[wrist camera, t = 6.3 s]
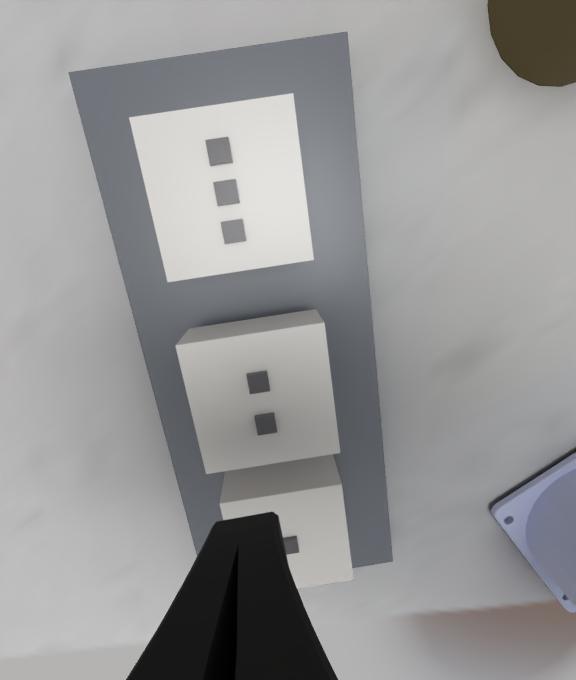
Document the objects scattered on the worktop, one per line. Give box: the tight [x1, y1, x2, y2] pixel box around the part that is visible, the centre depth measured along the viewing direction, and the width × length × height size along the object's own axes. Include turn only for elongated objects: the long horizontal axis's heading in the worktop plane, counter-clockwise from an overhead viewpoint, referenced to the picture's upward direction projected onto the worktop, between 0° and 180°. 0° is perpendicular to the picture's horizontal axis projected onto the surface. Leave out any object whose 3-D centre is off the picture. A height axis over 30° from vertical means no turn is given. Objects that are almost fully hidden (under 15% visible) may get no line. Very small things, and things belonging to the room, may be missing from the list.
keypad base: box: [69, 32, 393, 568], centre depth 17 cm, size 24×10×2 cm, turn 8°
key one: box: [219, 454, 354, 589], centre depth 17 cm, size 5×5×2 cm
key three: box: [129, 93, 314, 282], centre depth 13 cm, size 5×5×2 cm
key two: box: [175, 309, 340, 474], centre depth 14 cm, size 5×5×2 cm
